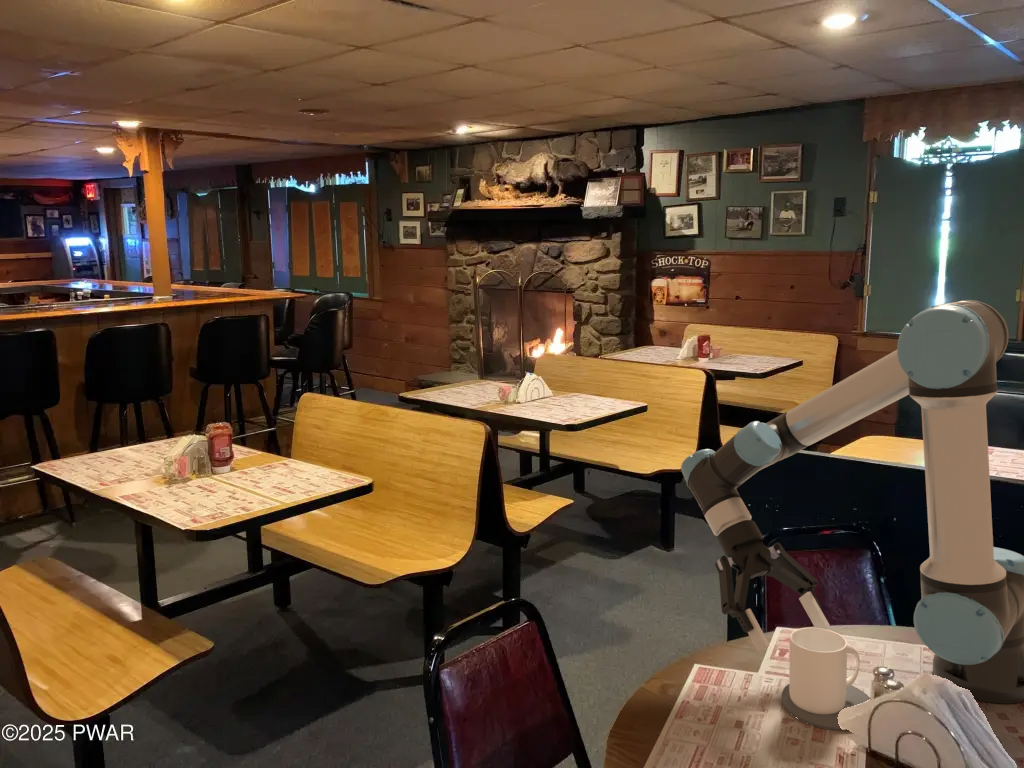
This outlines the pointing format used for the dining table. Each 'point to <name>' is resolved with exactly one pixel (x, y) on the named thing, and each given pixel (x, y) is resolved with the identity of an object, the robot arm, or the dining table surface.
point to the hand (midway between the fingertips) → (794, 639)
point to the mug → (819, 670)
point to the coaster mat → (819, 720)
